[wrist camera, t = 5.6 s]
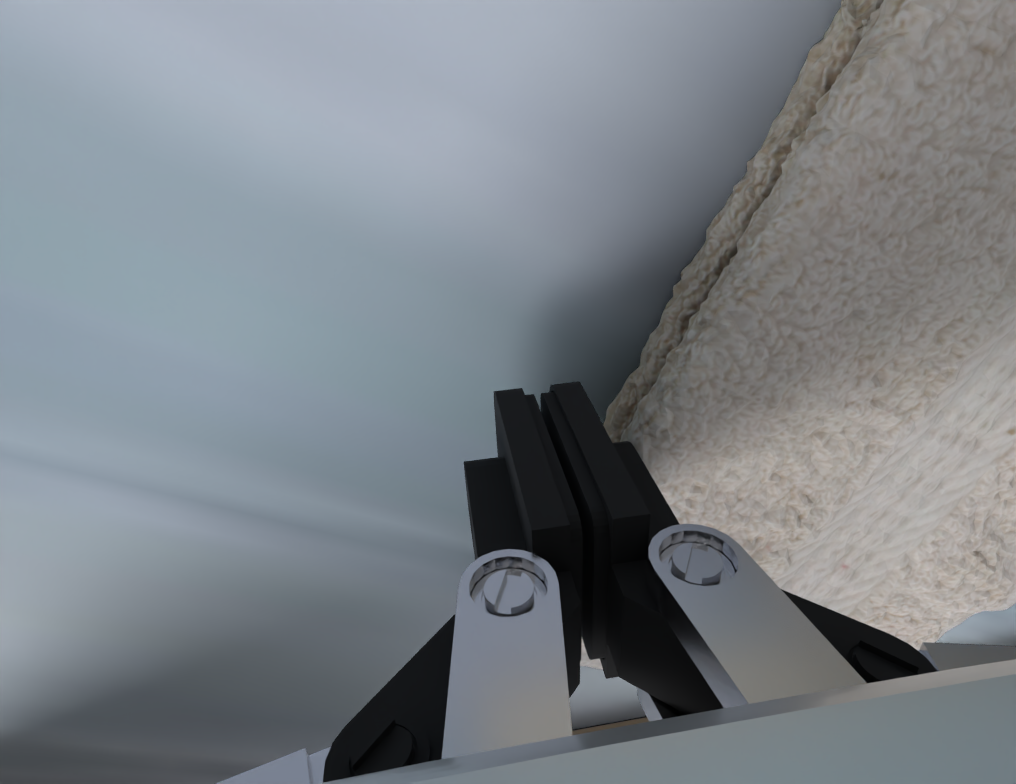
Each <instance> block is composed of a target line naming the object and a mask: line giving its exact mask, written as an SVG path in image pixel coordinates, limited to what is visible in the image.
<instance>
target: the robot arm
mask: <svg viewBox="0 0 1016 784" xmlns="http://www.w3.org/2000/svg"><path fill="white" fill-rule="evenodd" d="M494 407H495V421H496V435H497V449H498V457H497V458H489V459H481V460H474V461H466V462H464V470H465V480H466V489H467V498H468V507H469V516H470V524H471V532H472V539H473V547H474V554H475V561H474V562H472V563H471V564H470V565H469V566H468V567H467V569H466V570H465V571H464V573H463V574H462V576H461V579H460V583H459V586H458V595H457V605H456V614H455V615H454V616H453V617H452V618H451V619H450V620H449V621H448V622H447V623H446V624H445V625H444V626H443V627H442V628H441V629H440V630H439V631H438V632H437V633H436V634H435V635H434V636H433V637H432V638H431V639H430V640H429V641H428V642H427V643H426V644H425V645H424V646H423V647H422V648H421V649H420V650H419V651H418V653H417V654H416V655H415V656H414V657H413V658H412V659H411V660H410V661H409V662H408V663H407V664H406V665H405V666H404V667H403V668H402V669H401V670H400V671H399V672H398V673H397V674H396V675H395V676H394V677H393V678H392V679H391V680H390V681H389V682H388V683H387V684H386V685H385V686H384V687H383V688H382V689H381V690H380V691H379V692H378V693H377V694H376V695H375V696H374V697H373V698H372V700H371V701H370V702H369V703H368V704H367V705H366V706H365V707H364V708H363V709H362V710H361V711H360V712H359V713H358V714H357V715H356V716H355V717H354V718H353V719H352V720H351V721H350V722H349V723H348V724H347V725H346V726H345V727H344V729H343V730H342V731H341V732H340V734H339V735H338V736H337V738H336V739H335V740H334V742H333V743H332V746H330V747H328V748H325V749H323V750H321V751H318V752H316V753H313V754H311V755H308V753H307V751H306V748H304V749H301V750H299V751H296V752H294V753H291V754H288V755H286V756H283V757H281V758H278V759H276V760H273V761H271V762H268V763H266V764H263V765H261V766H258V767H256V768H253V769H251V770H248V771H246V772H243V773H241V774H238V775H236V776H233V777H231V778H228V779H225V780H223V781H220V782H218V783H215V784H1016V646H997V645H975V644H953V643H931V642H923V643H922V645H921V647H920V650H916V649H915V648H914V647H912V646H911V645H910V644H908V643H906V642H904V641H902V640H901V639H899V638H897V637H895V636H893V635H891V634H889V633H886V632H884V631H881V630H879V629H876V628H874V627H872V626H869V625H867V624H864V623H862V622H859V621H857V620H855V619H852V618H850V617H847V616H845V615H843V614H840V613H838V612H835V611H833V610H830V609H828V608H826V607H823V606H821V605H818V604H816V603H813V602H811V601H809V600H806V599H804V598H801V597H799V596H797V595H794V594H792V593H789V592H787V591H784V590H782V589H780V588H779V587H778V586H777V585H776V583H775V582H774V581H773V580H772V579H771V578H770V577H769V576H768V575H767V574H766V573H765V572H764V570H763V569H762V568H761V567H760V566H759V565H758V564H757V563H756V562H755V561H754V560H753V558H752V557H751V556H750V555H749V554H748V553H747V552H746V551H745V550H744V549H743V548H742V546H741V545H740V544H738V543H737V542H736V541H735V540H734V539H732V538H731V537H730V536H729V535H727V534H725V533H723V532H721V531H719V530H717V529H714V528H711V527H707V526H704V525H697V524H679V522H678V520H677V519H676V517H675V515H674V513H673V512H672V510H671V508H670V507H669V505H668V503H667V502H666V500H665V498H664V496H663V495H662V493H661V491H660V490H659V488H658V486H657V485H656V483H655V481H654V479H653V478H652V476H651V474H650V473H649V471H648V469H647V468H646V466H645V464H644V462H643V461H642V459H641V457H640V456H639V454H638V452H637V451H636V449H635V447H634V446H633V444H632V443H631V442H629V441H623V442H615V443H612V441H611V439H610V437H609V435H608V433H607V432H606V430H605V428H604V426H603V424H602V422H601V420H600V419H599V417H598V415H597V413H596V411H595V409H594V407H593V406H592V404H591V402H590V400H589V398H588V396H587V394H586V393H585V391H584V389H583V387H582V385H581V383H580V382H572V383H563V384H554V385H551V386H550V392H548V393H541V412H540V409H539V406H538V404H537V401H536V398H535V396H534V394H531V395H525V394H524V392H523V389H522V388H519V389H511V390H502V391H494ZM582 639H583V642H584V646H585V649H586V652H587V655H588V657H589V659H590V660H593V659H599V658H600V661H601V664H602V668H603V671H604V674H605V677H606V679H607V678H613V677H620V678H622V679H624V680H625V681H627V682H629V683H631V684H632V685H634V686H636V687H637V696H638V698H639V701H640V704H641V707H642V709H643V711H644V712H645V714H646V716H647V718H648V720H649V722H644V723H639V724H633V725H627V726H622V727H616V728H610V729H605V730H599V731H594V732H588V733H583V734H577V735H573V734H572V723H571V712H570V701H569V698H570V697H571V695H572V694H573V692H574V691H575V689H576V688H577V686H578V685H579V684H580V661H581V648H582Z"/></svg>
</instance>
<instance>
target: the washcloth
mask: <svg viewBox="0 0 1016 784" xmlns="http://www.w3.org/2000/svg"><path fill="white" fill-rule="evenodd" d="M680 275H681V280H680V281H679V282H678V283H677V284H676V285H674V286H673V297H672V298H671V299H670V301H669V302H668V303H667V305H666V307H665V309H664V311H663V313H662V316H661V320H660V324H659V326H658V327H657V328H656V329H655V330H654V331H653V332H652V333H651V334H650V335H649V339H648V341H647V343H646V345H645V346H644V348H643V350H642V353H641V359H640V365H639V367H638V368H637V369H636V370H635V371H634V372H633V373H632V374H630V375H629V377H628V378H627V379H626V382H625V384H624V386H623V388H622V390H621V391H620V392H619V394H618V395H617V396H616V398H615V399H614V400H613V402H612V403H611V404H610V405H609V407H608V409H607V411H606V419H605V421H604V424H603V426H604V428H605V430H606V432H607V433H608V435H609V437H610V439H611V441H612V443H615V442H623V441H629V442H631V443H632V444H633V446H634V447H635V449H636V451H637V452H638V454H639V456H640V457H641V459H642V461H643V462H644V464H645V466H646V468H647V469H648V471H649V473H650V474H651V476H652V478H653V479H654V481H655V483H656V485H657V486H658V488H659V490H660V491H661V493H662V495H663V496H664V498H665V500H666V502H667V503H668V505H669V507H670V508H671V510H672V512H673V513H674V515H675V517H676V519H677V520H678V522H679V524H697V525H704V526H707V527H711V528H714V529H717V530H719V531H721V532H723V533H725V534H727V535H729V536H730V537H731V538H732V539H734V540H735V541H736V542H737V543H738V544H740V545H741V546H742V548H743V549H744V550H745V551H746V552H747V553H748V554H749V555H750V556H751V557H752V558H753V560H754V561H755V562H756V563H757V564H758V565H759V566H760V567H761V568H762V569H763V570H764V572H765V573H766V574H767V575H768V576H769V577H770V578H771V579H772V580H773V581H774V582H775V583H776V585H777V586H778V587H779V588H780V589H782V590H784V591H787V592H789V593H792V594H794V595H797V596H799V597H801V598H804V599H806V600H809V601H811V602H813V603H816V604H818V605H821V606H823V607H826V608H828V609H830V610H833V611H835V612H838V613H840V614H843V615H845V616H847V617H850V618H852V619H855V620H857V621H859V622H862V623H864V624H867V625H869V626H872V627H874V628H876V629H879V630H881V631H884V632H886V633H889V634H891V635H893V636H895V637H897V638H899V639H901V640H902V641H904V642H906V643H908V644H910V645H911V646H912V647H914V648H915V649H916V650H920V647H921V645H922V643H923V642H931V643H935V642H936V641H937V640H938V639H939V638H940V637H941V636H942V635H944V634H945V633H946V632H947V631H949V630H950V629H952V628H954V627H956V626H957V625H959V624H961V623H962V622H964V621H965V620H966V619H967V618H969V617H971V616H972V615H974V614H975V613H980V612H982V611H1000V610H1006V609H1008V608H1010V607H1011V606H1013V605H1014V604H1016V0H845V1H844V0H842V1H841V8H840V9H839V11H838V12H837V14H836V15H835V17H834V19H833V21H832V23H831V25H830V27H829V28H828V30H827V31H826V33H825V34H824V38H823V40H821V41H820V42H819V43H817V44H815V45H814V46H813V47H812V48H811V49H810V51H809V53H808V56H807V60H806V62H805V63H804V65H803V67H802V69H801V71H800V73H799V76H798V79H797V81H796V83H795V84H794V86H793V87H792V89H791V92H790V94H789V96H788V98H787V100H786V103H785V105H784V108H783V109H782V110H781V112H780V113H779V115H778V116H777V117H776V118H775V120H774V121H773V122H772V125H771V127H770V130H769V132H768V135H767V137H766V139H765V141H764V143H763V145H762V147H761V149H760V150H759V151H758V152H757V154H756V155H755V157H753V158H752V159H751V160H749V161H748V162H747V172H746V174H745V175H744V177H743V179H742V180H741V181H740V182H739V183H738V184H736V185H735V186H734V187H733V193H732V194H731V195H730V196H729V198H728V199H727V202H726V204H725V207H724V208H723V209H722V210H721V211H720V212H719V213H718V214H717V215H716V216H715V217H714V219H713V220H712V222H711V224H710V225H709V227H708V228H707V229H706V242H705V243H704V245H703V246H702V247H701V249H700V250H699V252H698V253H697V254H696V256H695V257H694V258H693V260H692V262H691V263H690V264H689V265H687V266H686V267H685V268H684V269H683V270H682V271H681V274H680ZM580 666H587V667H591V668H596V669H601V670H603V668H602V664H601V661H600V658H599V659H593V660H590V659H589V657H588V655H587V652H586V649H585V646H584V642H583V639H582V648H581V661H580Z"/></svg>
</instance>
